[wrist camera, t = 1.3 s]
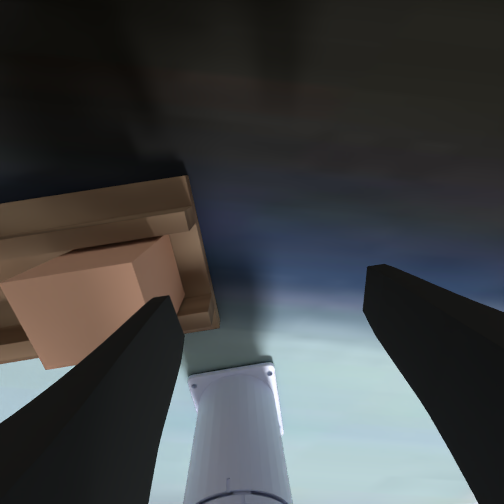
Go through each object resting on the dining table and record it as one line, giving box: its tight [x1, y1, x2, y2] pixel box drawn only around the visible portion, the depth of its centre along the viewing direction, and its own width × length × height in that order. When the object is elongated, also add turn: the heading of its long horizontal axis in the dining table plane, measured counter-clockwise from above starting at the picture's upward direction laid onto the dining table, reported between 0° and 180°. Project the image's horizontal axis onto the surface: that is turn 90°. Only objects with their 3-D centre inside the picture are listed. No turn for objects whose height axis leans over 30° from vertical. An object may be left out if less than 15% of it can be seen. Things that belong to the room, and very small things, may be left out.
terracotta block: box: [0, 234, 185, 370], centre depth 14 cm, size 5×6×6 cm
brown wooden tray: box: [0, 175, 220, 364], centre depth 16 cm, size 12×22×5 cm, turn 98°
